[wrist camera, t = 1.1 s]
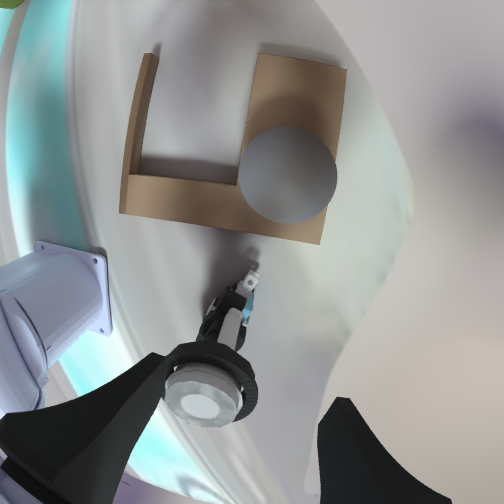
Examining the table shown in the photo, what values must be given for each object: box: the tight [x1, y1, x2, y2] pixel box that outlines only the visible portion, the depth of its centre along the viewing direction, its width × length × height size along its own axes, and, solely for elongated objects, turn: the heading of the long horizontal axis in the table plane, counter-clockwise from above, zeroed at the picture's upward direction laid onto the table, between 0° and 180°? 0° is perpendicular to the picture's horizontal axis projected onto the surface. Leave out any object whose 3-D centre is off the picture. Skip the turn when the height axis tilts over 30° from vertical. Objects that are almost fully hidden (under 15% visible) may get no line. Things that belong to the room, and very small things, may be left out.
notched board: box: [119, 53, 347, 245], centre depth 15 cm, size 14×12×4 cm
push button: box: [161, 270, 259, 428], centre depth 16 cm, size 7×5×10 cm
